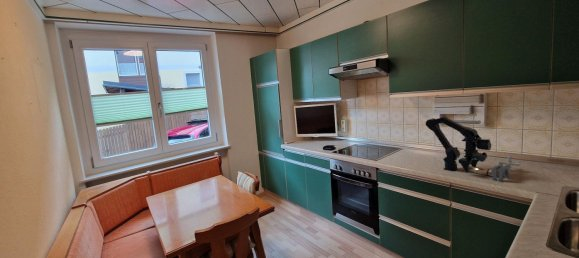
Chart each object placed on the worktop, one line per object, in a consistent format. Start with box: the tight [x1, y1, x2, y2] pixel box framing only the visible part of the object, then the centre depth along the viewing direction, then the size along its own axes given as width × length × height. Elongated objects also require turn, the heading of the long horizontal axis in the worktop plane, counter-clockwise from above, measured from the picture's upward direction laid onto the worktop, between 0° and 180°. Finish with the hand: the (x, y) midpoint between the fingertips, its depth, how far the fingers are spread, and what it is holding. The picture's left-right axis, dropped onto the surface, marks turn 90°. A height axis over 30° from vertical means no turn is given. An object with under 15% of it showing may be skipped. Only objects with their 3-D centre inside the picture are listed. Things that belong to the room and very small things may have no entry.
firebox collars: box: [491, 163, 510, 183], centre depth 153 cm, size 4×11×8 cm, turn 121°
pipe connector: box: [498, 155, 521, 172], centre depth 164 cm, size 10×10×10 cm
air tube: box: [468, 165, 493, 177], centre depth 164 cm, size 16×4×4 cm
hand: (470, 171), depth 167 cm, fingers open, 9 cm apart
